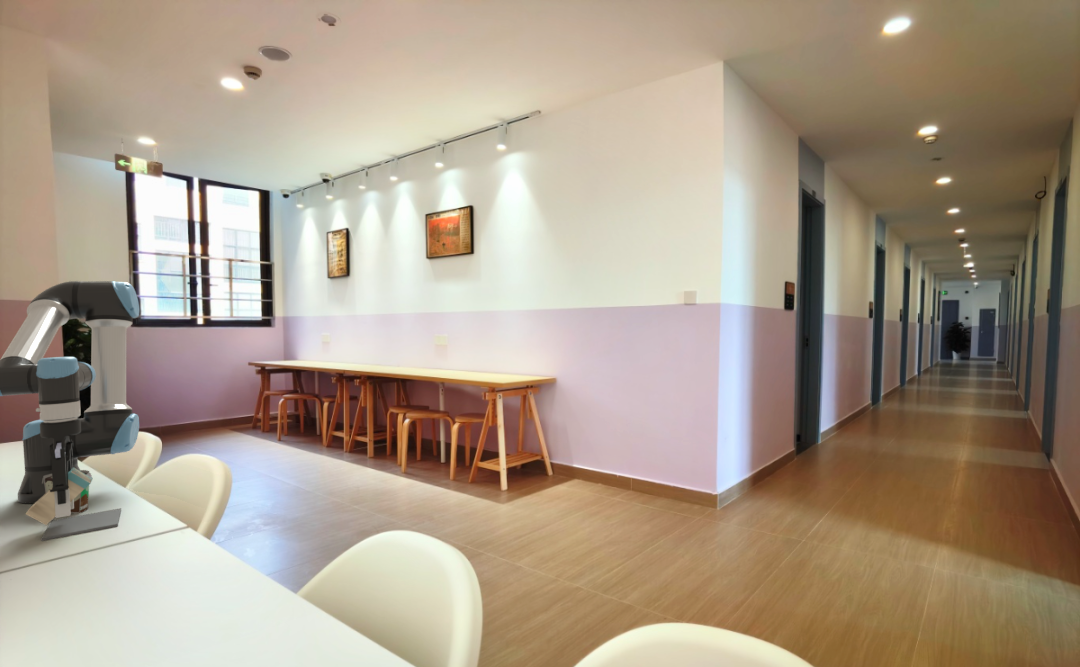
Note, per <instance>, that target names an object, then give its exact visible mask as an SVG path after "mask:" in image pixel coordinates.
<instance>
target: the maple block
mask: <svg viewBox="0 0 1080 667" xmlns="http://www.w3.org/2000/svg"><path fill="white" fill-rule="evenodd" d="M92 478H93V477H92ZM92 478H91V477H89V476H87V475H86V474H84V473H82V472H81V471H79V470H77V469H76V468H74V467H73V468H72V469H71V470H70V471H69V472H68V486H69V488H70V502H71V501H72V500H73V499H74V498H75V497H77V496H78V495H79V494H80V493H81V492H82V491H83V490H84V489H85V488H86V487H87V486H88V485H89V486H90V485H91V484H92V482H93V479H92ZM60 485H61V484H60ZM69 488H68V489H69ZM51 489H52V488H51ZM51 489H50V490H51ZM50 490H49V491H48V492H47V493H46V494H44V495H43V496H42V497H41V498H40V499H39V500H38V501H37V502H36V503H33V504H32V506H30V507H29V508H28V509H27V511H25V512H26V513H25V515H26V516H28V517H30V518H32V519H34V520H36V521H37V522H39V523H41V524H43V525H45V526H47V525H49V524H50V523H51V521H52V520H53V519H54V518H56V516H55V496H54V492H50Z"/></svg>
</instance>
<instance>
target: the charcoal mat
mask: <svg viewBox="0 0 1080 667" xmlns="http://www.w3.org/2000/svg"><path fill="white" fill-rule="evenodd" d="M121 513H122V508H121V507H120V508H115V509H108V510H104V511H98V512H93V513H92V512H91V513H85V514H81V515H75V516H67V517H62V518H56V519H54V520H53V519H52V520H51V521H50V522H49V523H48V526H47V528H46V530H45V531H44V533H43V535H42V537H41V538H40V539H41V541H42V542H43V541H47V540H53V539H58V538H63V537H68V536H72V535H74V536H75V535H79V534H80V535H81V534H85V533H91V532H95V531H99V530H105V529H110V528H115V527H119V522H120V519H121V518H120V517H121Z"/></svg>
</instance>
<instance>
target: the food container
mask: <svg viewBox="0 0 1080 667" xmlns="http://www.w3.org/2000/svg"><path fill="white" fill-rule="evenodd" d="M79 471H81V472H82V473H84V474H86V475H87V476H89V477H91V478H92V480H93V476H92V473H91V472H90V470H87V469H80V470H79ZM42 483H44V485H45V492H46V493H47V492H48V491H49V490H50V489H51V488H52V487H53V482H52V474H49V475H45V476H43V480H42ZM89 493H90V485H88V486H87V487H86V488H85V489H84V490H83V491H82V492H81V493H80V494H79V495H78V496H77V497H75V498H74V509H71V514H81V513H83V512H86V511H87V510H88V508H89V495H90V494H89Z"/></svg>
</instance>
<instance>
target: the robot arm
mask: <svg viewBox="0 0 1080 667" xmlns="http://www.w3.org/2000/svg"><path fill="white" fill-rule="evenodd" d="M26 315H27V316H26V317H25V319H24V321H23V322H22V324H21V326H20V327H19V329H18V330H17V332H16V333H15V335H14V337H13V339H12V340H11V342H10V343H9V345H8V347H7V348H6V350H5V351H4V353H3V355H2V356H1V358H0V397H4V396H6V397H7V396H18V395H29V394H30V395H32V394H34V395H35V394H37V395H38V407H37V408H35V412H37V413H39V412H40V413H39V419H36V420H33V421H30V422H28V423H26V424H24V426H23V428H22V429H23V430H22V431H23V432H22V439H21V440H22V446H23V462H24V475H23V478H22V480H21V484H20V486H19V489H18V492H17V502H18V503H19V504H35V503H36V502H37V501H38V500H39V499H40V498H41V497H42V496H43V495H44V494H46V492H45V485H44V483H42V480H43V476H45V475H49V474H52V482H53V487H52V489H51V490H50V492H54V496H55V519H60V518H65V517H71V514H72V513H71V509H74V499H73V500H72V501H71V502H70V488H69V486H68V472H69V471H70V470H71V469H72V468H73V467H74V468H76V469H77V470H81V469H80V466H79V463H78V461H79V460H78V458H84V457H93V456H94V457H95V456H104V455H107V456H108V455H115V454H122V453H127V452H130V451H131V450H132V449H133V448H134V447H135V446H136V445H135V444H136V442H137V440H138V436H139V432H140V431H139V430H140V417H139V414H136V413H133V408H132V407H131V406H130V405H128V403H127V330H128V328H129V327H131V325H133V319H136V318H139V316H140V303H139V299H138V296H137V292H136V290H135V288H134V286H133V285H132V284H131V283H129V282H127V281H115V280H111V281H110V280H109V281H107V280H106V281H105V280H104V281H103V280H102V281H101V280H99V281H93V280H92V281H81V280H80V281H79V280H72V281H71V280H69V281H65V282H61V283H58V284H55V285H52V286H51V287H49V288H46V289H45V290H43V291H42V292H40V293H39V294H38V295H36V296H35V297H34V298H33V299H32V300H31V301H30V303H29V304H28V306H27V308H26ZM73 319H74V320H76V319H80V320H81V319H83V320H84V319H85V325H86V326H88V327H89V328H91V358H90V359H91V360H90V362H91V363H90V364H89V363H86V362H84V361H78V358H77V357H75V356H54V357H44V356H46V353H47V351H48V349H49V347H50V345H51V344H52V342H53V341H54V338H55V336H56V335H57V333H58V332H59V331H58V330H59V329H60V328H61V327H62V326H63V325H65V324H67V323H68V321H69V320H73ZM88 387H90V405H89V407H88V408H86V410H84V412H83V418H82V417H81V418H79V417H80V416H81V415H82V414H81V400H80V391H83V390H85V389H87V388H88ZM60 484H61V485H60ZM68 488H69V489H68Z"/></svg>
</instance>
